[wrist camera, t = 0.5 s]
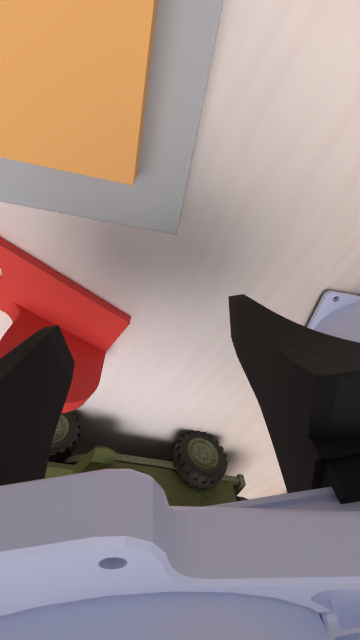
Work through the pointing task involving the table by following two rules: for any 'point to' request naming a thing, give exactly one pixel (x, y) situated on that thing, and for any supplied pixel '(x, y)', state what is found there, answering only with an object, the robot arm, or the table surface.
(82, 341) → the bracket
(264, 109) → the table surface
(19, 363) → the robot arm
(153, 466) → the toy jeep
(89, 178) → the dock
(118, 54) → the chock
